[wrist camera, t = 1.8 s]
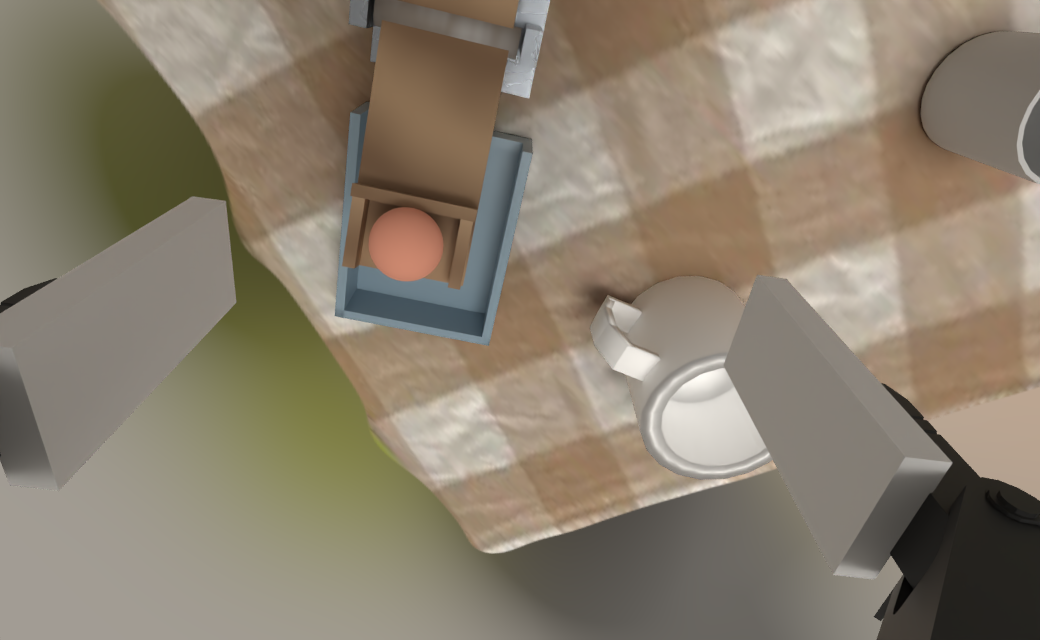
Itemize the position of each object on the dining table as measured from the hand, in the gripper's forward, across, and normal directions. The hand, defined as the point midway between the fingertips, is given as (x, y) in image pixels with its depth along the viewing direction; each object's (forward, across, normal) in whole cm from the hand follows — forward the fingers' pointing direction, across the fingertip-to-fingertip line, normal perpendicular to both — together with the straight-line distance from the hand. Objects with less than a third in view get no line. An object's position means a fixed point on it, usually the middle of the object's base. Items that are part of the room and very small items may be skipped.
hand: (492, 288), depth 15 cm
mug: (+27, +14, -14) cm, 34 cm away
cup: (+27, +30, +5) cm, 41 cm away
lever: (+23, -4, +3) cm, 24 cm away
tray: (+27, -4, -8) cm, 28 cm away
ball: (+13, -4, -5) cm, 14 cm away
